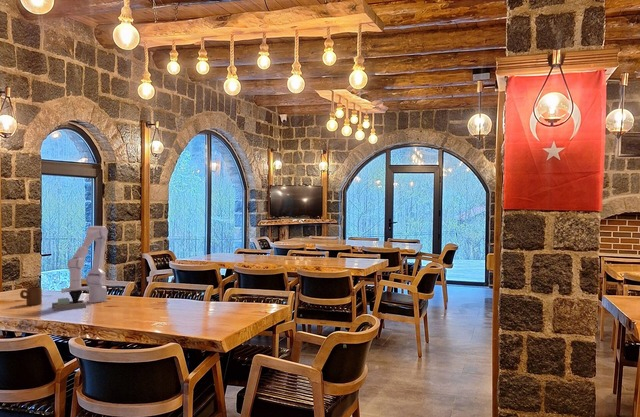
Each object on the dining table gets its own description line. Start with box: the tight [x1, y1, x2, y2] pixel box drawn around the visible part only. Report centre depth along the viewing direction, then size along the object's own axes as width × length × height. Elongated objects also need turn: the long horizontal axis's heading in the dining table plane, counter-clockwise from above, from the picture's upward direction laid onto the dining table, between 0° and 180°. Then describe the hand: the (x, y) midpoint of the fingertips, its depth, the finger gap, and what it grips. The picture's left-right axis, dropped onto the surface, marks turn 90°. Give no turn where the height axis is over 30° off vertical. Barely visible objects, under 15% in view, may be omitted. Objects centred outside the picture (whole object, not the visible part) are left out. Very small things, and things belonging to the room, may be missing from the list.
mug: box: [19, 286, 43, 306], centre depth 299 cm, size 12×8×9 cm, turn 153°
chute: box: [51, 299, 87, 311], centre depth 294 cm, size 16×10×2 cm, turn 125°
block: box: [57, 297, 70, 305], centre depth 293 cm, size 5×5×5 cm
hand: (75, 304), depth 296 cm, fingers closed
